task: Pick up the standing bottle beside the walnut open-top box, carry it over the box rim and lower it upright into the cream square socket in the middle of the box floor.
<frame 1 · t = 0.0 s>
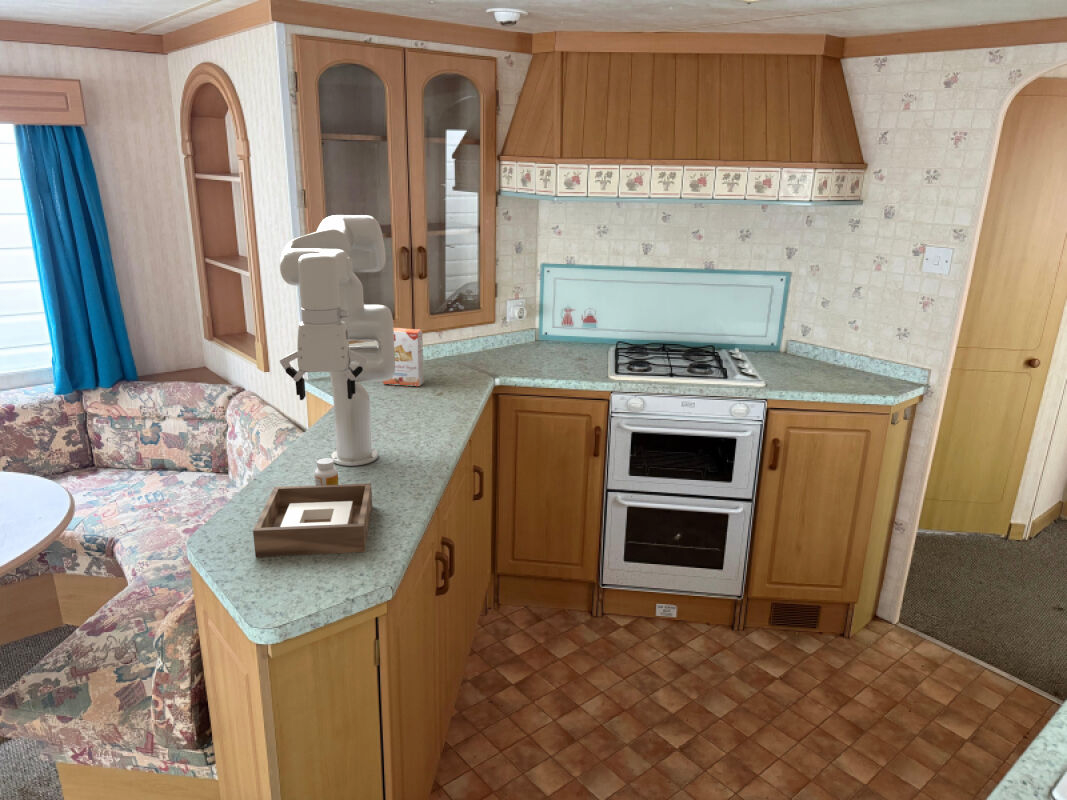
hand: (326, 397, 154), 31 cm above the counter, tool pointing down, fingers open, 9 cm apart
supplement bottle: (328, 498, 181), on the counter
socket plate: (317, 520, 164), in the open box, point 2 cm above the counter
open box: (318, 530, 165), on the counter
cracker box: (403, 385, 277), on the counter
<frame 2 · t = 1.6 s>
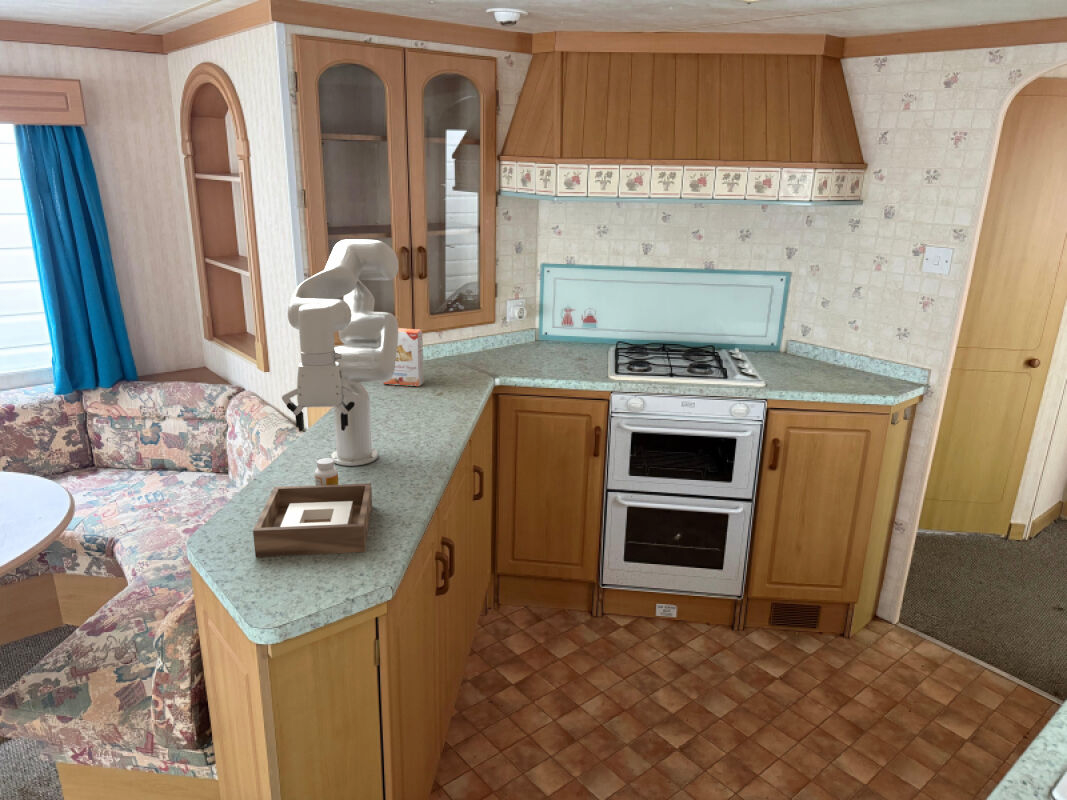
hand: (322, 429, 175), 18 cm above the counter, tool pointing down, fingers open, 9 cm apart
nothing on the counter moved.
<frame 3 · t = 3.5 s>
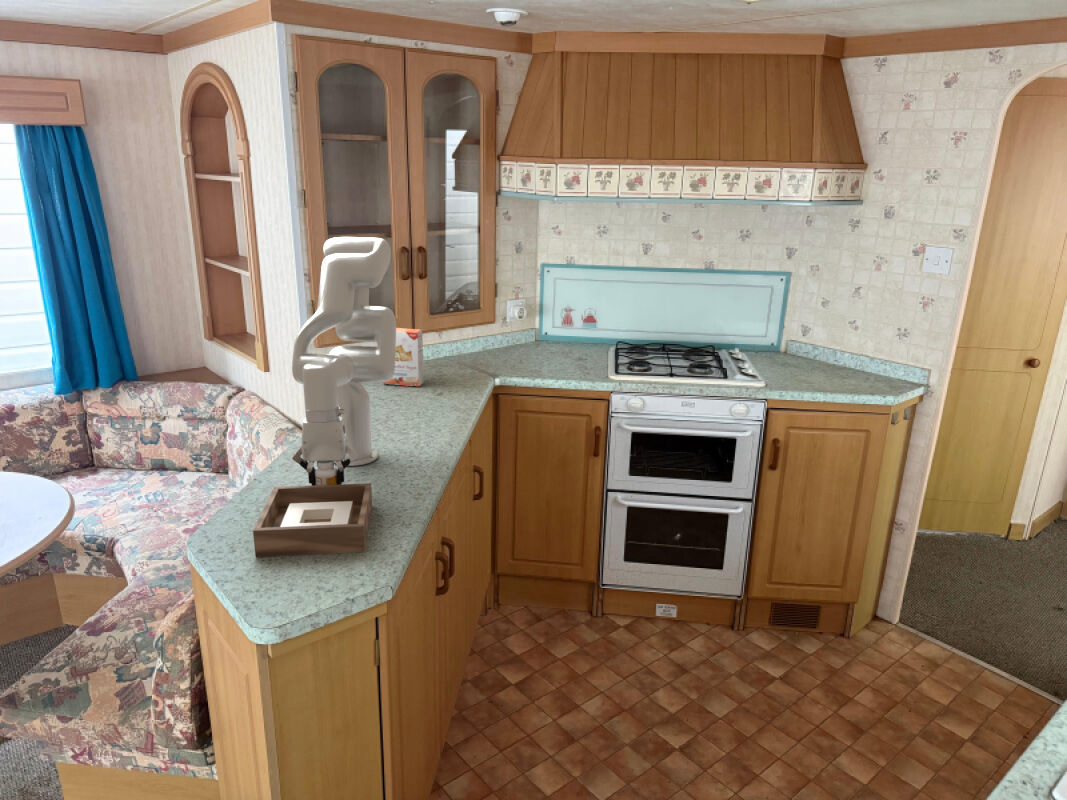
hand: (327, 484, 180), 4 cm above the counter, tool pointing down, fingers closed on supplement bottle, 5 cm apart
supplement bottle: (327, 498, 181), on the counter, touching gripper
everything else where it was.
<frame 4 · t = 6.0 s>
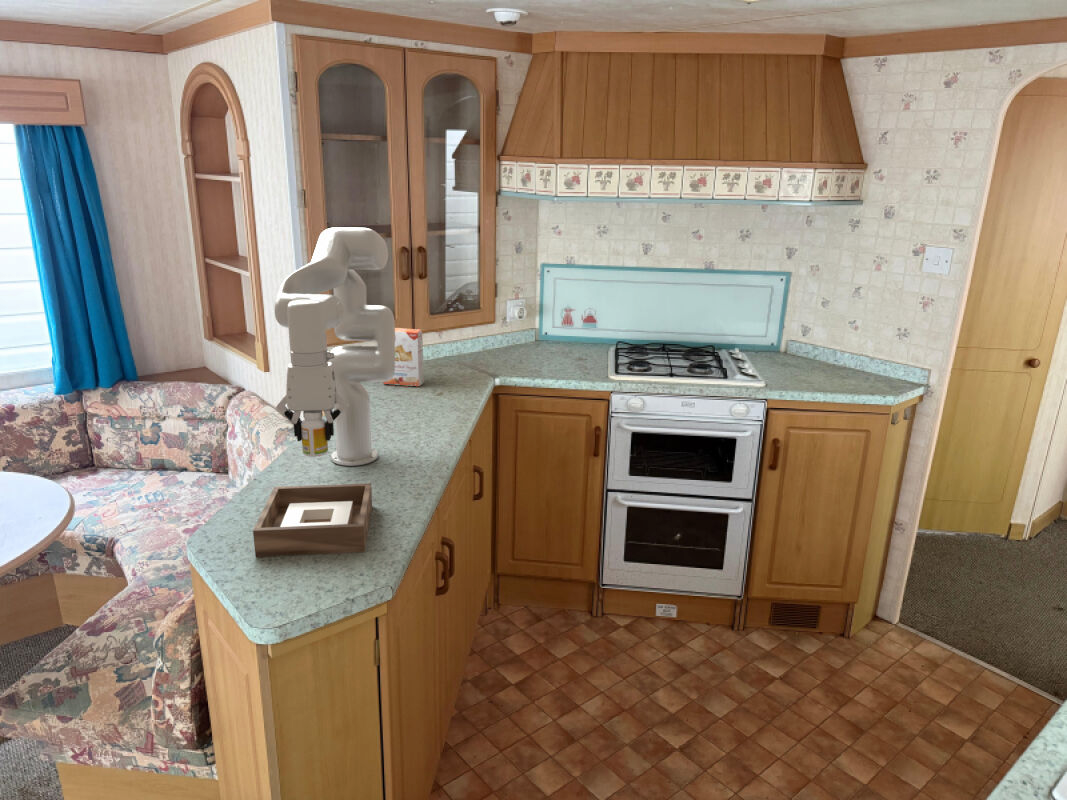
hand: (314, 438, 163), 20 cm above the counter, tool pointing down, fingers closed on supplement bottle, 5 cm apart
supplement bottle: (315, 453, 164), point 16 cm above the counter, touching gripper
everything else where it was.
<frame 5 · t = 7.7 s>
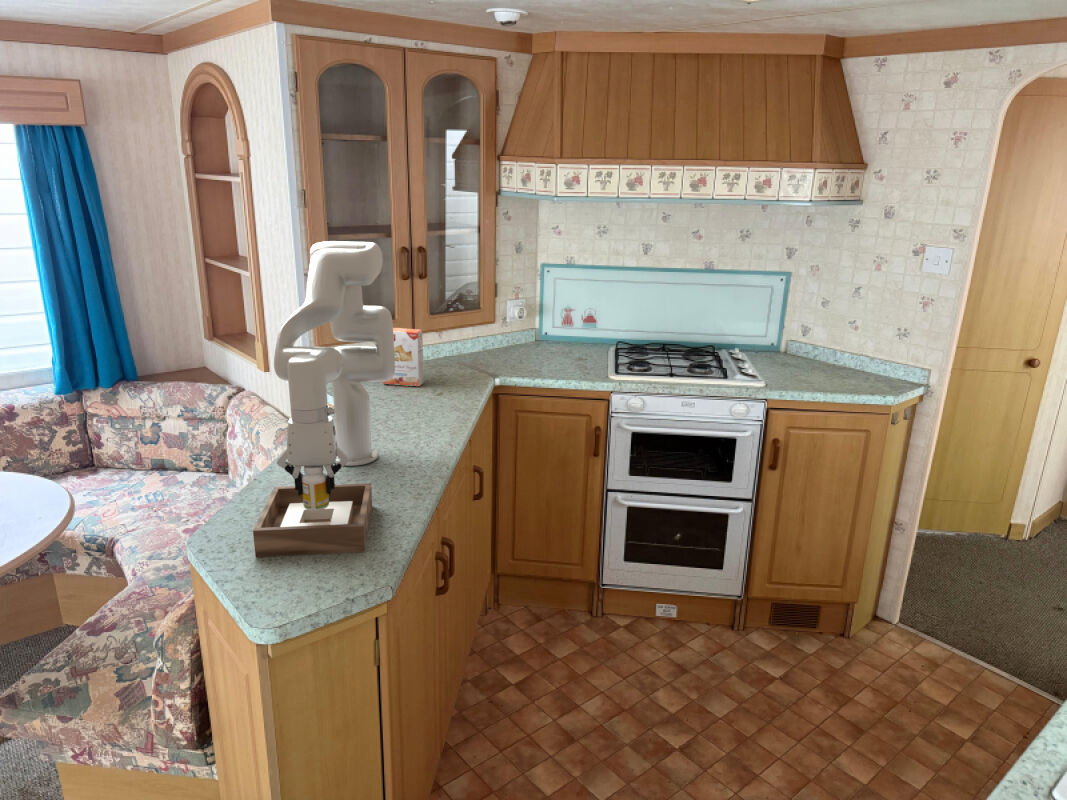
hand: (315, 491, 162), 9 cm above the counter, tool pointing down, fingers closed on supplement bottle, 5 cm apart
supplement bottle: (316, 507, 163), point 6 cm above the counter, touching gripper
everything else where it was.
when the fingers open (5 cm above the counter, at t = 8.9 s): supplement bottle stays where it is, resting on open box.
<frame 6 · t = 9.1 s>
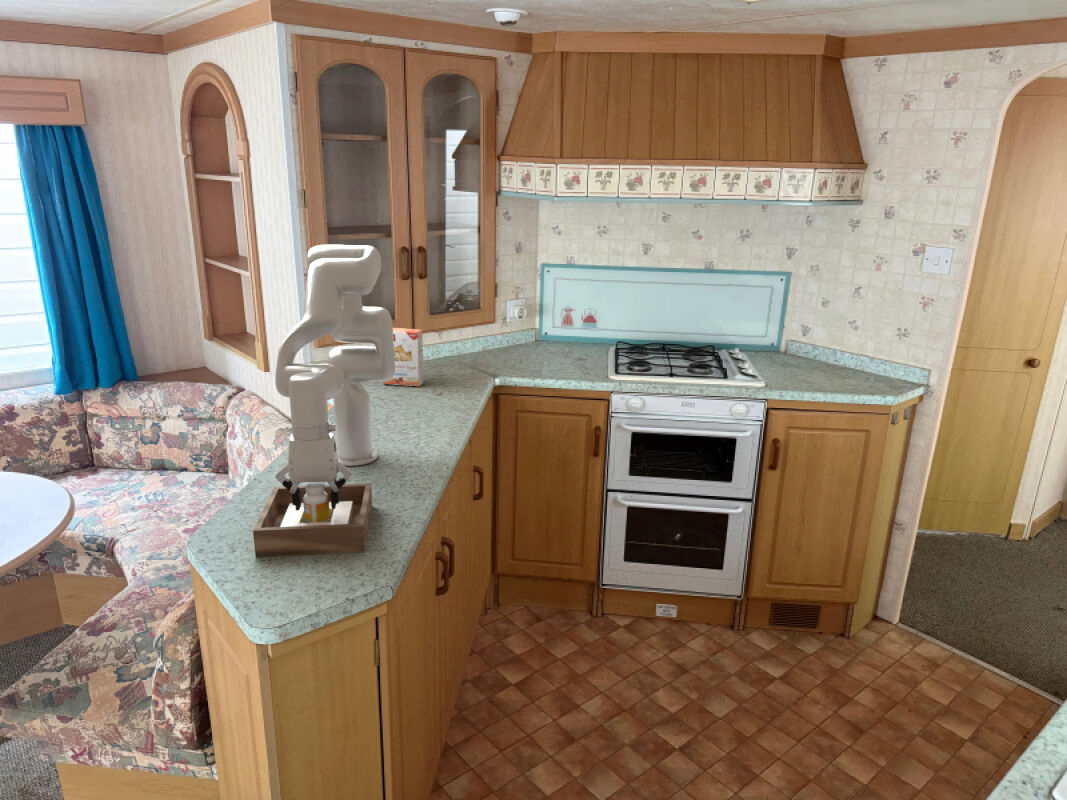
hand: (316, 506, 163), 6 cm above the counter, tool pointing down, fingers open, 7 cm apart
supplement bottle: (318, 526, 165), point 1 cm above the counter, touching open box
everything else where it was.
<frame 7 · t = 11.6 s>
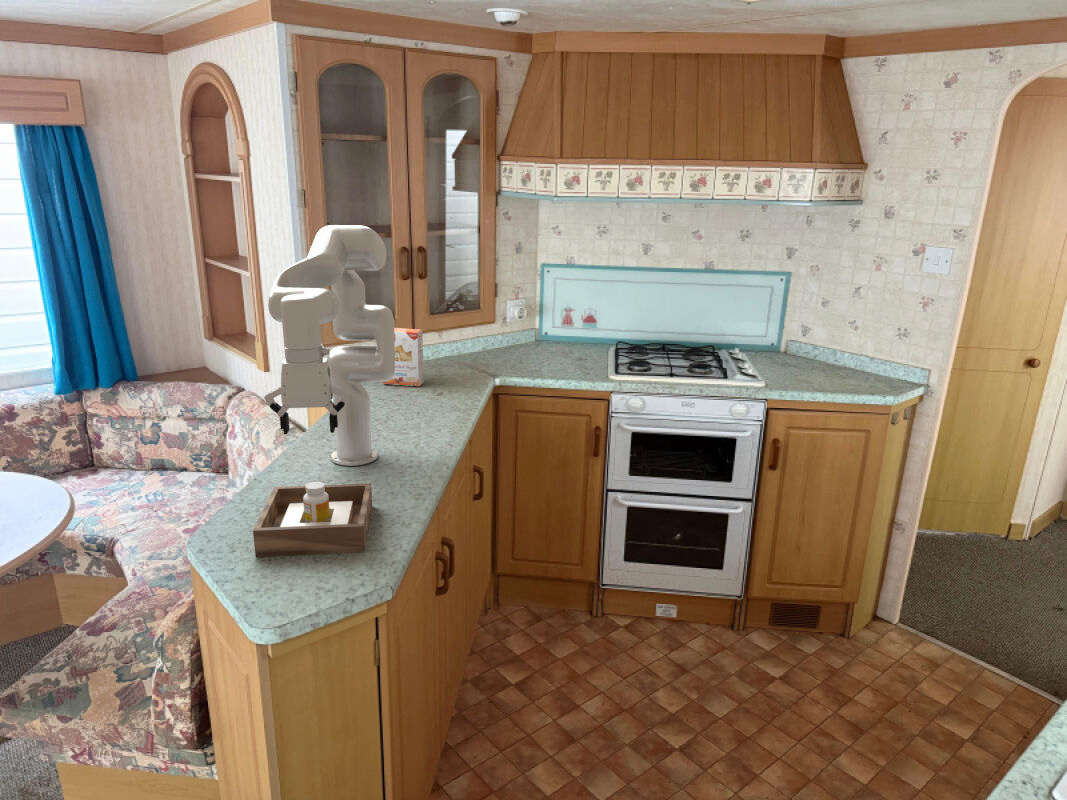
hand: (309, 431, 160), 23 cm above the counter, tool pointing down, fingers open, 9 cm apart
nothing on the counter moved.
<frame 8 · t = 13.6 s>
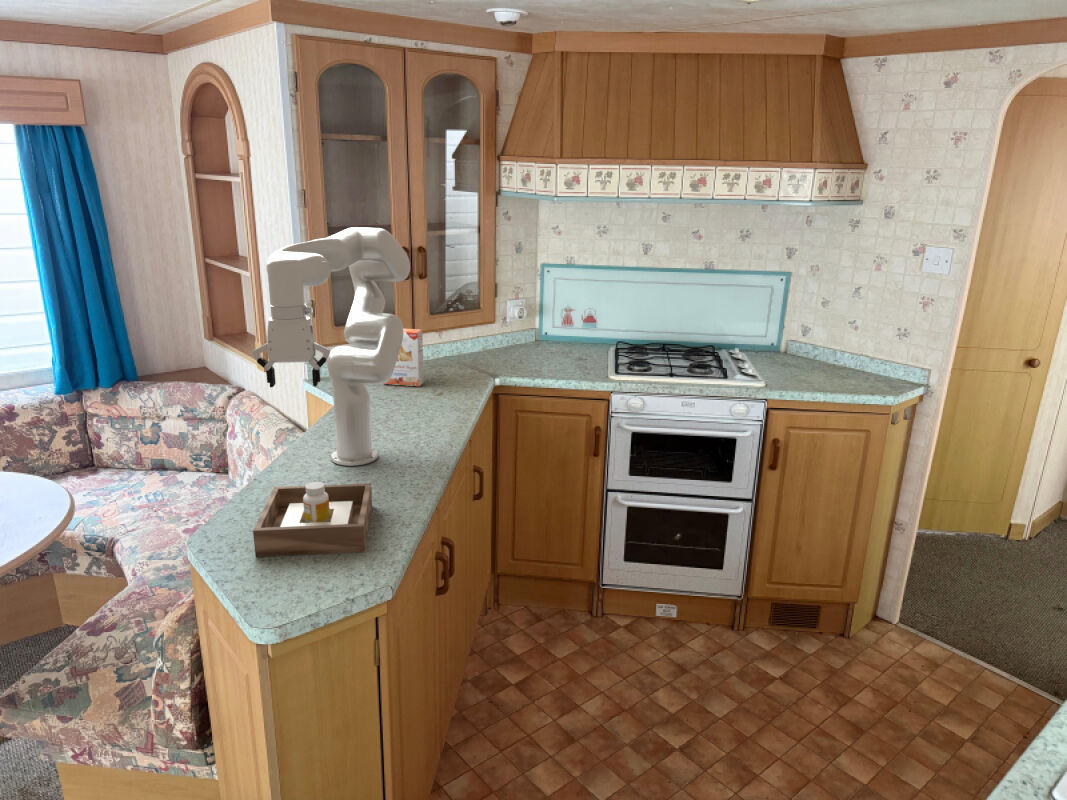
hand: (294, 385, 173), 28 cm above the counter, tool pointing down, fingers open, 9 cm apart
nothing on the counter moved.
at the end: supplement bottle 0.2 cm off-centre on the socket plate, point 0.8 cm above the socket plate's base; supplement bottle tilted 0°; the gripper is holding nothing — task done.
